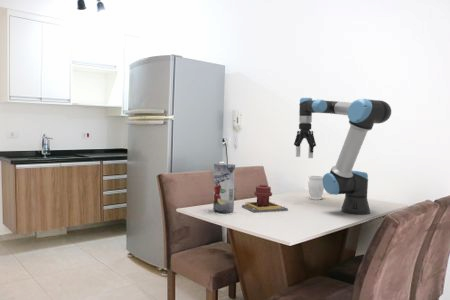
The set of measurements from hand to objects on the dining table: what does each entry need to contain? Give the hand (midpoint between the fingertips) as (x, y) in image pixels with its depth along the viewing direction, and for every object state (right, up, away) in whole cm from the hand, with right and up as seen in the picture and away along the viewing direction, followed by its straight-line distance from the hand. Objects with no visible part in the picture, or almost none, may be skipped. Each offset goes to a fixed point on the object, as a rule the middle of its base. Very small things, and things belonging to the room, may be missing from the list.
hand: (304, 157), depth 230 cm
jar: (+12, -29, +20) cm, 37 cm away
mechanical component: (-28, -28, -19) cm, 44 cm away
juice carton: (-50, -29, -29) cm, 65 cm away
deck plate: (-27, -29, -19) cm, 44 cm away
